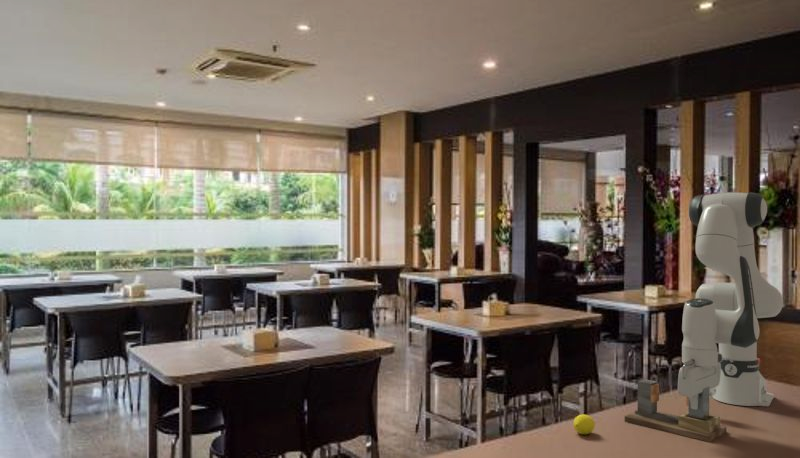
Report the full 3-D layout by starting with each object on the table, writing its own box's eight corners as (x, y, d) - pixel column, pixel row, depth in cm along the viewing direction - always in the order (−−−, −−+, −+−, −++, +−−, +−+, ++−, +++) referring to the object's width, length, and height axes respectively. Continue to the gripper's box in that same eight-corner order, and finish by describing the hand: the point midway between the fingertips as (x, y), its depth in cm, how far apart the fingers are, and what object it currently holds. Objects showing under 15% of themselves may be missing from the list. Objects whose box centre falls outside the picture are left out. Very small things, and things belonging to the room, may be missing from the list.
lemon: (582, 431, 176) (583, 411, 177) (598, 436, 172) (600, 416, 172) (567, 432, 172) (568, 412, 172) (583, 437, 168) (585, 417, 168)
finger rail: (643, 413, 192) (643, 376, 192) (726, 432, 174) (726, 391, 174) (624, 421, 183) (624, 382, 183) (709, 441, 166) (709, 398, 166)
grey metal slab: (709, 419, 173) (709, 386, 173) (703, 421, 171) (703, 389, 171) (692, 415, 177) (692, 383, 177) (686, 418, 174) (686, 385, 174)
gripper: (695, 364, 164) (695, 416, 164) (725, 354, 178) (724, 402, 178) (671, 360, 169) (671, 411, 169) (702, 351, 183) (702, 398, 182)
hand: (699, 407), depth 173 cm, fingers closed on grey metal slab, 4 cm apart
